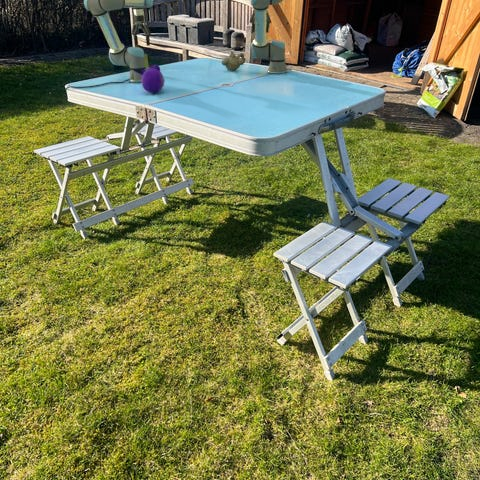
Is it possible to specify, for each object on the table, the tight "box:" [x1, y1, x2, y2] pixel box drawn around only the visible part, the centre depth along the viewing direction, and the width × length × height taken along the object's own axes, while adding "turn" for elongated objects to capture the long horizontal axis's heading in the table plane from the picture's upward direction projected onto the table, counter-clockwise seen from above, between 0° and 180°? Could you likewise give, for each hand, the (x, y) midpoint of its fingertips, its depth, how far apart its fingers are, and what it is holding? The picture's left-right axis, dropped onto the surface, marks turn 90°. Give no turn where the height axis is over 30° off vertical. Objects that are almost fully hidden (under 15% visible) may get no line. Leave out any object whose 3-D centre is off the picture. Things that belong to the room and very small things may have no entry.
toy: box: [134, 64, 165, 94], centre depth 304 cm, size 16×18×27 cm
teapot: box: [221, 50, 246, 72], centre depth 365 cm, size 21×12×15 cm, turn 120°
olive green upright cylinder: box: [144, 53, 150, 70], centre depth 365 cm, size 6×6×14 cm
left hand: (142, 45), depth 358 cm, fingers open, 13 cm apart
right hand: (260, 32), depth 374 cm, fingers open, 13 cm apart
